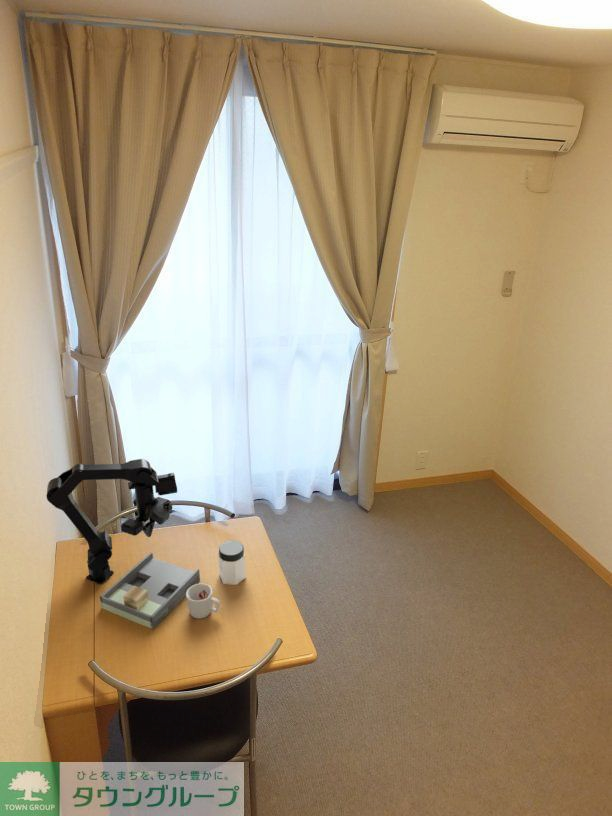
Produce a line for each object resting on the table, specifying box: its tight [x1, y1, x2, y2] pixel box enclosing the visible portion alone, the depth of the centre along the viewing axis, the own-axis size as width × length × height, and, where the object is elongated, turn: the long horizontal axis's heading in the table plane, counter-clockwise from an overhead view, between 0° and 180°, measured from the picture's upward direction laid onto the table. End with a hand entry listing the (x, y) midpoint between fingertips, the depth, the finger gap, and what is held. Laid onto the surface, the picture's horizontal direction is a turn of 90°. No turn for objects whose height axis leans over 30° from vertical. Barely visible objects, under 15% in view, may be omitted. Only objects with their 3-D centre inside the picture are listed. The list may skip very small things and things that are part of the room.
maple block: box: [123, 586, 148, 610], centre depth 167 cm, size 5×5×4 cm
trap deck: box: [99, 551, 201, 630], centre depth 175 cm, size 20×24×4 cm
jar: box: [218, 539, 246, 586], centre depth 181 cm, size 9×8×12 cm
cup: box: [185, 583, 221, 619], centre depth 167 cm, size 11×8×8 cm
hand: (149, 536), depth 183 cm, fingers closed
